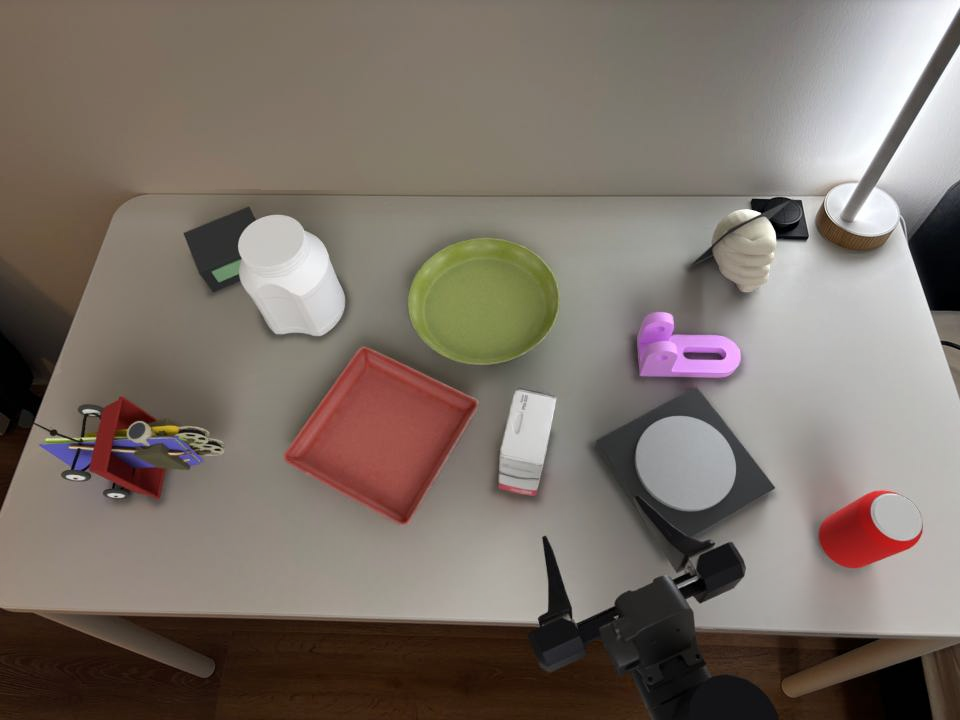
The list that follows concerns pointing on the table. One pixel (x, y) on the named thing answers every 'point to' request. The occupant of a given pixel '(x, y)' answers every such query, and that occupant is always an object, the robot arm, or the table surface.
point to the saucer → (483, 301)
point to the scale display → (219, 248)
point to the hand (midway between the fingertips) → (590, 516)
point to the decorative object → (744, 247)
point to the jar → (290, 277)
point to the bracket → (681, 351)
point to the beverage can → (871, 529)
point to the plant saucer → (382, 434)
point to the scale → (684, 464)
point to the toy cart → (127, 448)
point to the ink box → (525, 441)
